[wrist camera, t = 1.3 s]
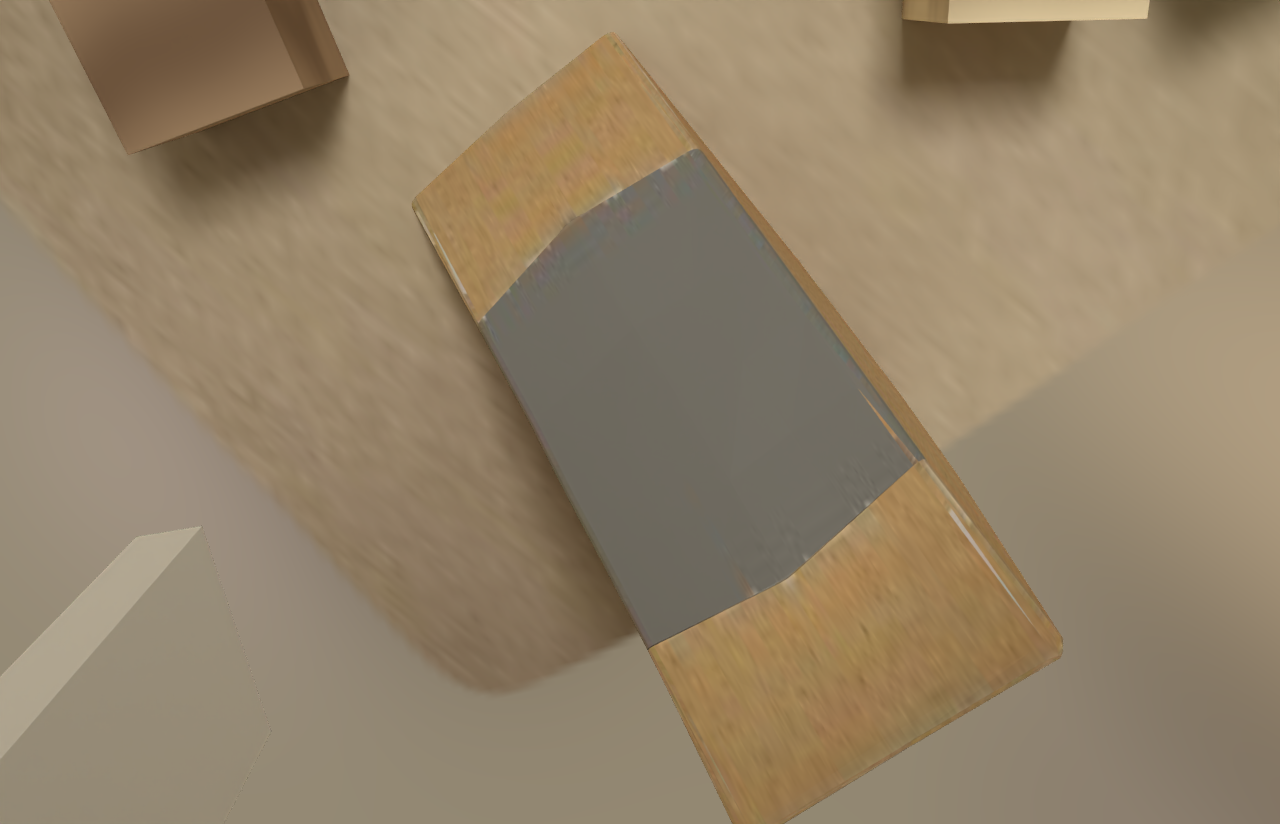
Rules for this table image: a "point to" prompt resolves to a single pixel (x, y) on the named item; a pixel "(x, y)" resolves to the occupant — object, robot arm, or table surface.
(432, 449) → the table surface
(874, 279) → the table surface
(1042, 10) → the maple cube
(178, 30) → the walnut cube
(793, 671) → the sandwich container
